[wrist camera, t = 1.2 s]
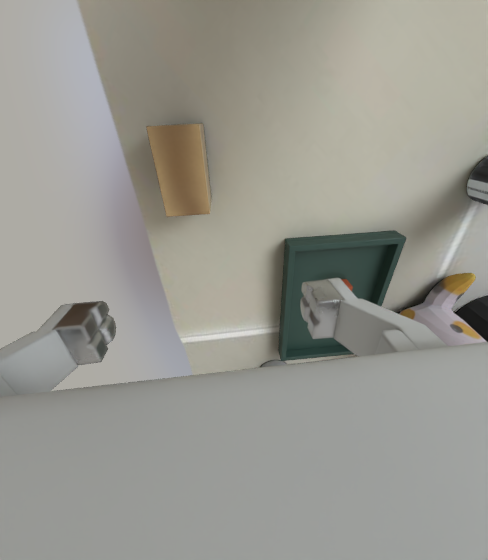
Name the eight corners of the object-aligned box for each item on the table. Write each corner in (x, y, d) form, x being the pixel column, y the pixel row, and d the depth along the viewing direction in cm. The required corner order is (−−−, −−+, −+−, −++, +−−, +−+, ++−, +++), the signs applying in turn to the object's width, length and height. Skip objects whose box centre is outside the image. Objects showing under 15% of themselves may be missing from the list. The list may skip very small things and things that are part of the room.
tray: (285, 238, 31) (289, 246, 29) (395, 230, 31) (406, 237, 29) (278, 350, 43) (281, 361, 41) (357, 342, 43) (364, 353, 41)
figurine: (359, 354, 41) (454, 416, 27) (391, 258, 39) (510, 270, 25) (411, 362, 45) (519, 421, 30) (442, 274, 43) (573, 292, 28)
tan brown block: (176, 199, 27) (166, 216, 22) (161, 125, 23) (146, 126, 18) (211, 197, 27) (210, 214, 22) (203, 123, 23) (199, 123, 18)
